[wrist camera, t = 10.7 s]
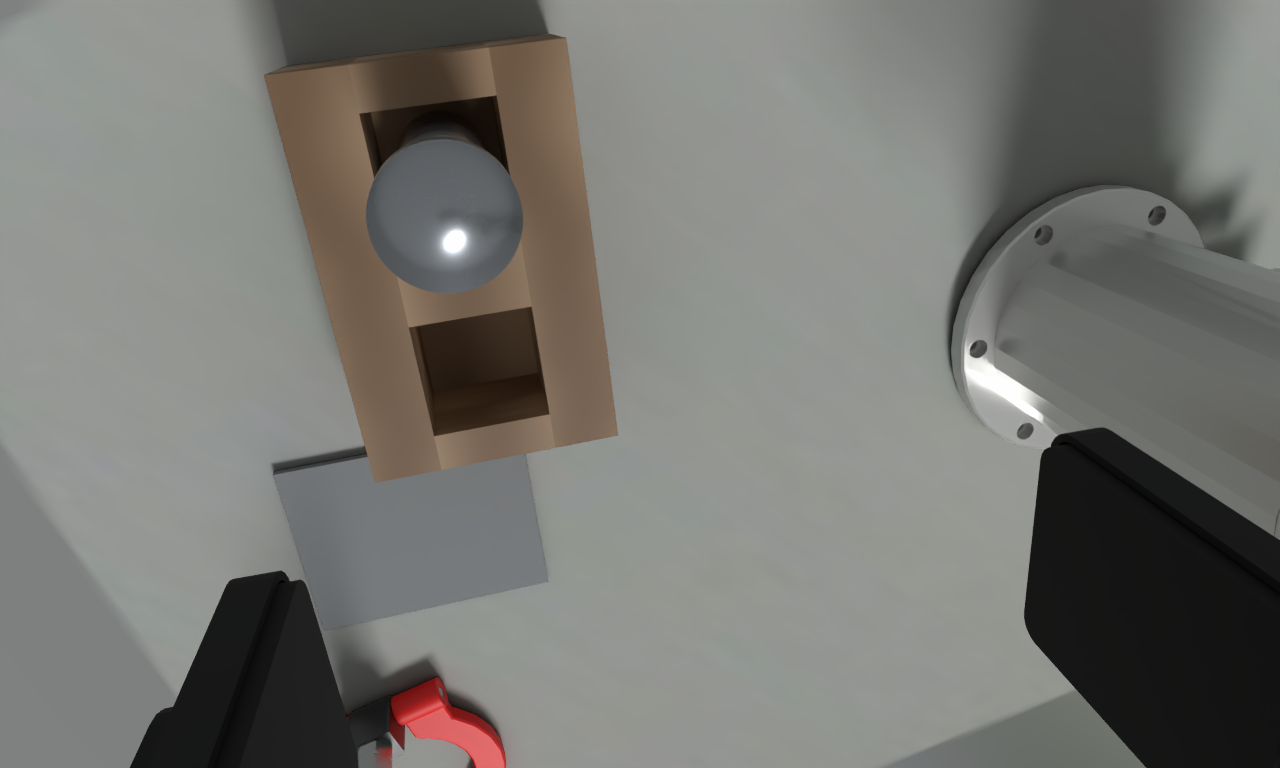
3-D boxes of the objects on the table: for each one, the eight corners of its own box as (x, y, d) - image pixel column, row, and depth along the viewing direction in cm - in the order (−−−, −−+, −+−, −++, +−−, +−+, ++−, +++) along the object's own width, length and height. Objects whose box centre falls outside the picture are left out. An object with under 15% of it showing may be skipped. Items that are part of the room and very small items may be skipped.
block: (548, 33, 31) (566, 37, 27) (597, 388, 37) (617, 435, 33) (287, 65, 29) (264, 75, 25) (381, 428, 35) (374, 482, 31)
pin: (485, 92, 31) (509, 130, 21) (503, 198, 32) (533, 280, 22) (376, 106, 30) (349, 152, 20) (399, 214, 32) (385, 305, 22)
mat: (519, 424, 37) (520, 427, 36) (547, 577, 40) (548, 581, 40) (274, 471, 35) (272, 474, 35) (325, 626, 38) (324, 630, 38)
